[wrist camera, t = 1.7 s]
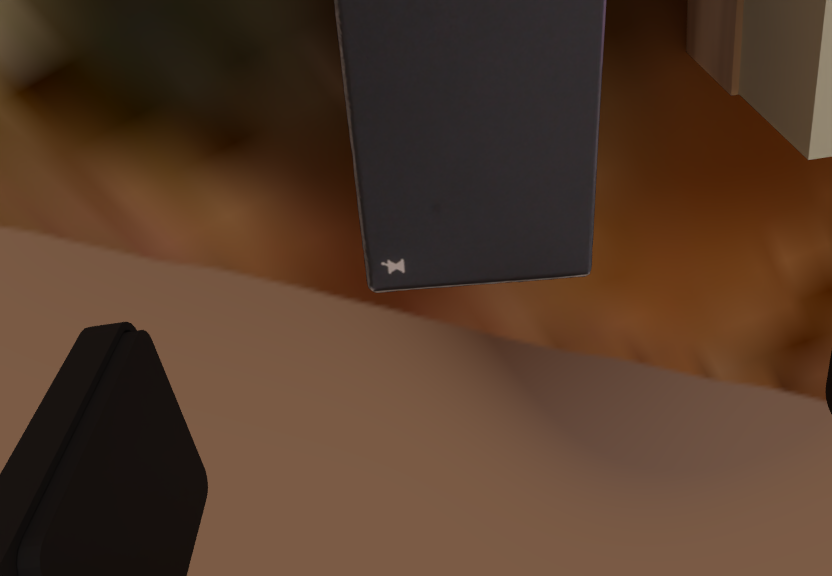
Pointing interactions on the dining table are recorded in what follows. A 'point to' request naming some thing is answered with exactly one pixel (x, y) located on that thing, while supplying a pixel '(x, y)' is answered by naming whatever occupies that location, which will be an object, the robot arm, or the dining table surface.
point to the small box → (473, 137)
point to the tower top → (790, 69)
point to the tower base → (716, 39)
